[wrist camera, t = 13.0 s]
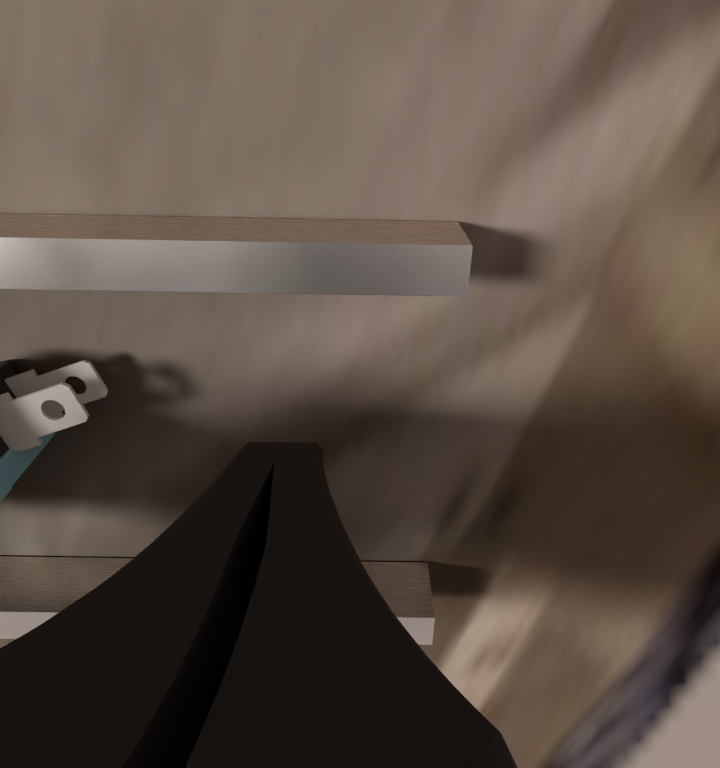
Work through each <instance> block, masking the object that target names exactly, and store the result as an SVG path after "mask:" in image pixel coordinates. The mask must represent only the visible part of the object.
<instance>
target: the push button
mask: <svg viewBox="0 0 720 768" xmlns="http://www.w3.org/2000/svg"><path fill="white" fill-rule="evenodd" d="M70 376H75V377H79V378H80V379H81V380H83V381H84V383H85V385H86V391H85V392H84V393H82V394H76V393H75V391H74V390H73V388H72V387H71V385H69V384H67V383H65V380H66V378H68V377H70ZM107 393H108V389H107V387H106V385H105V384H104V382H103V380H102V379H101V377H100V376H99V374H98V372H97V371H96V369H95V367H94V366H93V364H92V363H91V362H90V361H87V360H82V361H80V362H77V363H74V364H71V365H68V366H65V367H62V368H59V369H56V370H53V371H51V372H48V373H45V374H42V375H39V376H38V375H37V374H36V372H35V371H34V369H32V370H29V371H26V372H23V373H21V374H18V375H17V373H16V372H15V370H14V369H13V367H12V366H11V365H10V363H9V362H8V361H7V360H6V361H2V362H0V502H1V501H2V500H3V499H4V498H5V497H6V495H7V494H8V493H9V492H10V491H11V489H12V488H13V487H12V485H13V484H14V483H15V482H16V481H17V479H18V478H19V477H20V476H21V475H22V473H23V472H24V471H25V470H26V469H27V468H28V466H29V465H30V464H31V463H32V462H33V460H34V459H35V458H36V457H37V456H38V454H39V453H40V452H41V451H42V450H43V448H44V447H45V446H46V445H47V444H48V442H49V441H50V440H51V439H52V438H53V436H54V435H55V433H56V431H59V430H63V429H66V428H69V427H72V426H75V425H78V424H81V423H84V422H86V421H87V420H88V417H89V413H88V412H87V410H86V408H85V407H84V405H83V404H86V403H89V402H92V401H95V400H98V399H101V398H104V397H106V395H107ZM62 411H65V415H64V414H63V413H62Z"/></svg>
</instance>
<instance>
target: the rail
mask: <svg viewBox="0 0 720 768" xmlns="http://www.w3.org/2000/svg"><path fill="white" fill-rule="evenodd" d="M472 249H473V245H472V243H471V242H470V240H469V239H468V237H467V235H466V234H465V232H464V231H463V229H462V227H461V226H460V224H459V223H458V222H454V221H397V220H340V219H283V218H226V217H169V216H112V215H55V214H0V289H47V290H106V291H165V292H224V293H283V294H342V295H401V296H461V297H468V288H469V278H470V268H471V259H472ZM132 559H134V558H77V557H8V556H0V639H17V638H19V637H21V636H22V635H24V634H26V633H27V632H29V631H31V630H32V629H34V628H36V627H37V626H39V625H41V624H42V623H44V622H45V621H47V620H48V619H50V618H51V617H53V616H54V615H56V614H57V613H59V612H60V611H62V610H63V609H65V608H66V607H68V606H69V605H71V604H72V603H74V602H75V601H77V600H78V599H80V598H81V597H83V596H84V595H86V594H87V593H89V592H90V591H92V590H93V589H95V588H96V587H97V586H99V585H100V584H102V583H103V582H104V581H106V580H107V579H108V578H110V577H111V576H112V575H113V574H115V573H116V572H117V571H119V570H120V569H121V568H122V567H124V566H125V565H126V564H128V563H129V562H130V561H131V560H132ZM361 563H362V565H363V566H364V568H365V570H366V572H367V573H368V575H369V576H370V578H371V580H372V581H373V583H374V585H375V586H376V588H377V589H378V591H379V592H380V594H381V595H382V597H383V598H384V600H385V601H386V603H387V604H388V606H389V607H390V609H391V610H392V612H393V613H394V615H395V616H396V617H397V618H398V620H399V621H400V622H401V623H402V625H403V626H404V627H405V629H406V630H407V631H408V632H409V634H410V635H411V636H412V638H413V639H414V640H415V641H416V643H417V644H425V645H432V640H433V631H434V621H435V616H434V608H433V601H432V593H431V585H430V578H429V570H428V563H419V562H361Z"/></svg>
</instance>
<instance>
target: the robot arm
mask: <svg viewBox="0 0 720 768" xmlns="http://www.w3.org/2000/svg"><path fill="white" fill-rule="evenodd" d="M0 768H517V766H516V764H515V762H514V760H513V758H512V755H511V753H510V751H509V749H508V747H507V745H506V743H505V741H504V739H503V737H502V735H501V733H500V732H499V730H497V729H496V728H495V727H494V726H493V725H492V724H491V723H490V722H489V721H488V720H487V719H486V718H485V717H484V716H483V715H482V714H481V713H480V712H479V711H478V710H477V709H476V708H475V707H474V706H473V705H472V704H471V703H470V702H469V701H468V700H467V699H466V698H465V697H464V696H463V695H462V694H461V693H460V692H459V691H458V690H457V689H456V688H455V687H454V686H453V685H452V684H451V682H450V681H449V680H448V679H447V678H446V677H445V676H444V675H443V673H442V672H441V671H440V670H439V669H438V668H437V667H436V666H435V664H434V663H433V662H432V661H431V660H430V659H429V658H428V657H427V655H426V654H425V653H424V652H423V650H422V649H421V648H420V647H419V645H418V644H417V643H416V641H415V640H414V639H413V638H412V636H411V635H410V634H409V632H408V631H407V630H406V629H405V627H404V626H403V625H402V623H401V622H400V621H399V620H398V618H397V617H396V616H395V615H394V613H393V612H392V610H391V609H390V607H389V606H388V604H387V603H386V601H385V600H384V598H383V597H382V595H381V594H380V592H379V591H378V589H377V588H376V586H375V585H374V583H373V581H372V580H371V578H370V576H369V575H368V573H367V572H366V570H365V568H364V566H363V565H362V563H361V561H360V559H359V557H358V555H357V553H356V552H355V550H354V548H353V546H352V544H351V542H350V540H349V537H348V535H347V533H346V531H345V529H344V527H343V525H342V522H341V520H340V518H339V515H338V512H337V510H336V507H335V505H334V502H333V499H332V497H331V494H330V491H329V488H328V484H327V480H326V477H325V473H324V468H323V449H322V448H321V447H320V446H319V445H318V444H317V443H277V442H248V443H247V444H246V445H245V446H244V447H243V448H242V449H241V450H240V451H239V452H238V453H237V455H236V456H235V457H234V458H233V459H232V461H231V462H230V463H229V464H228V465H227V466H226V468H225V469H224V470H223V471H222V472H221V473H220V474H219V475H218V477H217V478H216V479H215V480H214V481H213V482H212V483H211V484H210V486H209V487H208V488H207V489H206V490H205V491H204V492H203V493H202V494H201V495H200V496H199V497H198V498H197V499H196V500H195V501H194V502H193V504H192V505H191V506H190V507H189V508H188V509H187V510H186V511H185V512H184V513H183V514H182V515H181V516H180V517H179V518H178V519H177V520H176V521H174V522H173V523H172V524H171V525H170V526H169V527H168V528H167V529H166V530H165V531H164V532H163V533H162V534H161V535H160V536H159V537H157V538H156V539H155V540H154V541H153V542H152V543H151V544H150V545H149V546H148V547H146V548H145V549H144V550H143V551H142V552H141V553H139V554H138V555H137V556H136V557H135V558H134V559H132V560H131V561H130V562H129V563H128V564H126V565H125V566H124V567H122V568H121V569H120V570H119V571H117V572H116V573H115V574H113V575H112V576H111V577H110V578H108V579H107V580H106V581H104V582H103V583H102V584H100V585H99V586H97V587H96V588H95V589H93V590H92V591H90V592H89V593H87V594H86V595H84V596H83V597H81V598H80V599H78V600H77V601H75V602H74V603H72V604H71V605H69V606H68V607H66V608H65V609H63V610H62V611H60V612H59V613H57V614H56V615H54V616H53V617H51V618H50V619H48V620H47V621H45V622H44V623H42V624H41V625H39V626H37V627H36V628H34V629H32V630H31V631H29V632H27V633H26V634H24V635H22V636H21V637H19V638H17V639H16V640H14V641H12V642H11V643H9V644H7V645H6V646H4V647H2V648H0Z"/></svg>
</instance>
